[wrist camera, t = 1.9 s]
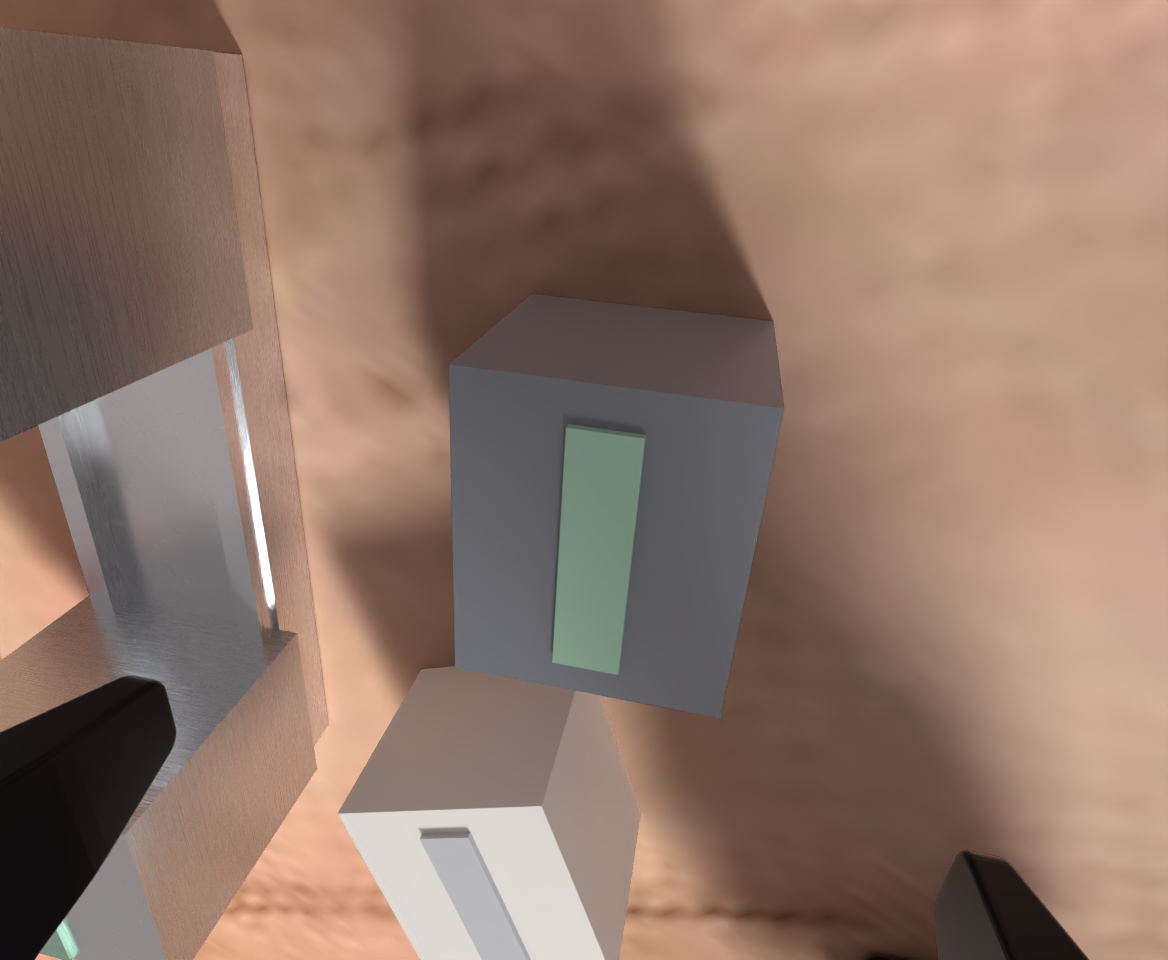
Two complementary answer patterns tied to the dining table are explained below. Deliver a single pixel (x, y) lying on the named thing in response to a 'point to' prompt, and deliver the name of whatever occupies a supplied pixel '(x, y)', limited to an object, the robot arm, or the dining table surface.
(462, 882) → the block
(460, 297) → the dining table surface
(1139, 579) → the dining table surface
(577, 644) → the block
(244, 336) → the grey metal u-shaped block
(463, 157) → the dining table surface
